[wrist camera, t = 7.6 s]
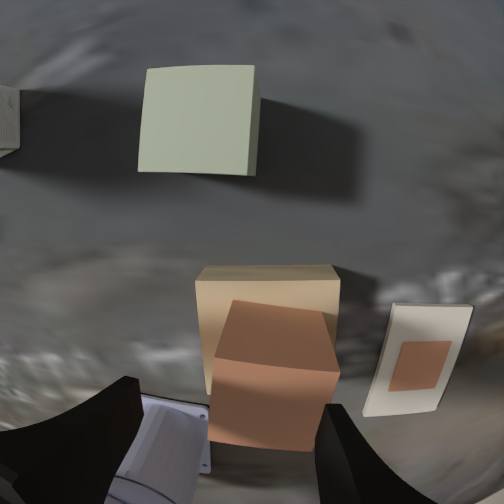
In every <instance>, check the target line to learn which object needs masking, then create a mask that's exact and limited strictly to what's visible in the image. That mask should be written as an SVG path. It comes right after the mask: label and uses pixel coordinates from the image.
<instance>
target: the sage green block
mask: <svg viewBox="0 0 504 504" xmlns="http://www.w3.org/2000/svg"><path fill="white" fill-rule="evenodd" d="M260 105H261V95H260V90H259V85H258V80H257V75H256V70H255V66H253V65H199V66H179V67H165V68H154V69H147V76H146V83H145V91H144V100H143V109H142V120H141V131H140V144H139V159H138V172H174V173H206V174H228V175H245V176H256V163H257V149H258V134H259V120H260Z"/></svg>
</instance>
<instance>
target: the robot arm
mask: <svg viewBox="0 0 504 504" xmlns="http://www.w3.org/2000/svg"><path fill="white" fill-rule="evenodd" d="M201 414H203V415H205V416H202V415H201ZM208 423H209V408H208V407H206V406H204V405H197V404H191V403H185V402H179V401H173V400H168V399H163V398H157V397H153V396H148V395H143V394H141V392H140V386H139V379H137V378H133V377H128V376H124V377H122V378H120V379H119V380H117V381H116V382H114V383H113V384H111V385H110V386H108V387H107V388H105V389H104V390H102V391H101V392H99V393H98V394H96V395H94V396H93V397H91V398H90V399H88V400H87V401H85V402H83V403H81V404H79V405H78V406H76V407H74V408H72V409H70V410H68V411H66V412H64V413H62V414H60V415H58V416H56V417H53V418H51V419H48V420H46V421H43V422H40V423H36V424H33V425H30V426H27V427H23V428H18V429H14V430H8V431H1V432H0V504H192V500H193V496H194V492H195V489H196V485H197V481H198V477H199V473H210V471H211V456H210V440H207V438H208ZM315 465H316V473H317V480H318V488H319V495H320V503H321V504H438V503H436V502H434V501H432V500H431V499H429V498H427V497H426V496H424V495H423V494H421V493H420V492H418V491H417V490H415V489H414V488H413V487H411V486H410V485H409V484H407V483H406V482H405V481H403V480H402V479H401V478H400V477H399V476H398V475H396V474H395V473H394V472H393V471H392V470H391V469H390V468H389V467H388V466H387V465H386V464H385V463H384V462H383V460H382V459H381V458H380V457H379V456H378V455H377V454H376V452H375V451H374V450H373V449H372V448H371V446H370V445H369V444H368V442H367V441H366V440H365V438H364V437H363V436H362V434H361V433H360V432H359V430H358V429H357V427H356V426H355V424H354V423H353V421H352V420H351V418H350V417H349V415H348V413H347V412H346V410H345V409H344V407H343V406H342V404H326V403H325V407H324V410H323V413H322V417H321V420H320V423H319V427H318V430H317V433H316V436H315Z"/></svg>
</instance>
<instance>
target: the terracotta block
mask: <svg viewBox="0 0 504 504" xmlns="http://www.w3.org/2000/svg"><path fill="white" fill-rule="evenodd" d="M340 373H341V372H340V369H339V366H338V362H337V359H336V356H335V352H334V349H333V346H332V343H331V340H330V336H329V333H328V330H327V327H326V324H325V321H324V318H323V315H322V312H321V311H313V310H305V309H297V308H289V307H281V306H274V305H266V304H259V303H252V302H245V301H239V300H233V301H232V304H231V307H230V310H229V313H228V316H227V319H226V322H225V325H224V328H223V331H222V334H221V337H220V340H219V343H218V346H217V349H216V352H215V355H214V360H213V372H212V384H211V396H210V410H209V423H208V438H207V440H210V441H215V442H221V443H227V444H234V445H241V446H249V447H257V448H266V449H276V450H288V451H305V452H312V450H313V447H314V445H315V436H316V433H317V430H318V427H319V423H320V420H321V417H322V413H323V410H324V407H325V403H326V404H330V402H331V400H332V397H333V394H334V391H335V388H336V385H337V382H338V379H339V376H340Z"/></svg>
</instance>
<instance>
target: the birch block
mask: <svg viewBox="0 0 504 504" xmlns="http://www.w3.org/2000/svg"><path fill="white" fill-rule="evenodd" d="M195 285H196V297H197V308H198V318H199V328H200V338H201V347H202V356H203V364H204V373H205V381H206V388H207V394H208V395H211V384H212V372H213V360H214V355H215V352H216V349H217V346H218V343H219V340H220V337H221V334H222V331H223V328H224V325H225V322H226V319H227V316H228V313H229V310H230V307H231V304H232V301H233V300H239V301H245V302H252V303H259V304H266V305H274V306H281V307H289V308H297V309H305V310H313V311H321V312H322V315H323V318H324V321H325V324H326V327H327V330H328V333H329V336H330V340H331V343H332V346H333V349H334V352H335V343H336V333H337V322H338V309H339V295H340V278H339V277H338V275H337V274H336V272H335V270H334V269H333V267H332V265H254V266H206V267H205V269H204V270H203V271H202V272H201V274H200V275H199V276H198V278H197V279H196V280H195Z"/></svg>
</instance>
